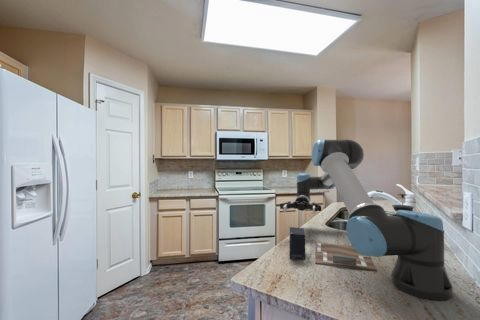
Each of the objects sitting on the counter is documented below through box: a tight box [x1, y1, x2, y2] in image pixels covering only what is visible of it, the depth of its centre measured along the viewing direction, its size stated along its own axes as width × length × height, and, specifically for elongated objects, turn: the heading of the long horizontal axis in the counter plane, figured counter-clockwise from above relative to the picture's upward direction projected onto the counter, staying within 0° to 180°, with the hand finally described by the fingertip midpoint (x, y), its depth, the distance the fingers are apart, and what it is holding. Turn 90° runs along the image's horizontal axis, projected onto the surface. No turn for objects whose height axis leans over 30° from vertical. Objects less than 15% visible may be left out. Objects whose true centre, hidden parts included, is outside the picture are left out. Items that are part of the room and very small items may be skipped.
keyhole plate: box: [314, 242, 377, 272], centre depth 100 cm, size 24×21×4 cm
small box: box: [289, 226, 306, 261], centre depth 101 cm, size 11×6×10 cm, turn 168°
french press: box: [391, 193, 415, 216], centre depth 118 cm, size 12×9×23 cm
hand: (298, 210), depth 112 cm, fingers open, 13 cm apart
